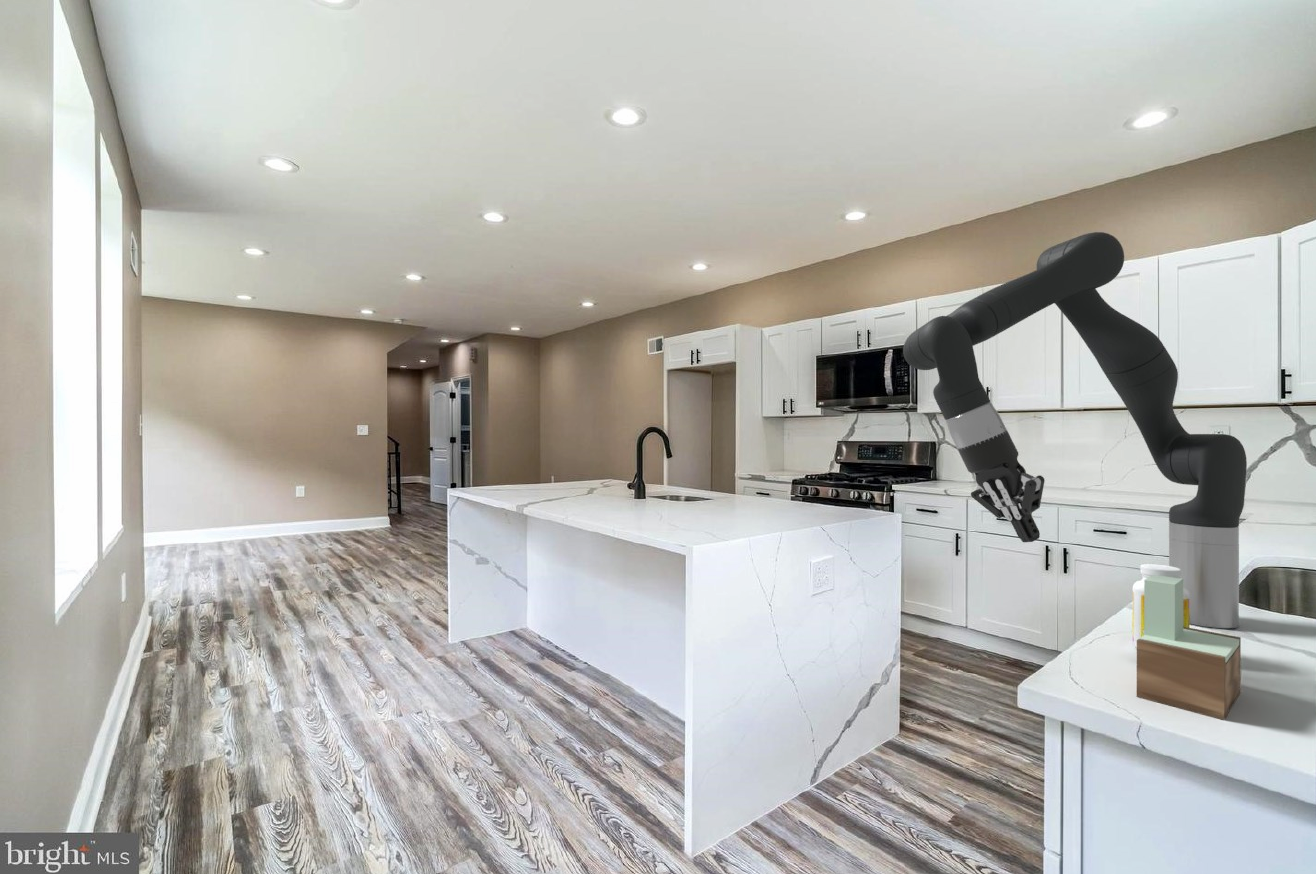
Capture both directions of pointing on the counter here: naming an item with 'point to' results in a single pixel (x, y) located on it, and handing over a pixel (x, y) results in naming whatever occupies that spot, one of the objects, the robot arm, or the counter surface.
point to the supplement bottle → (1138, 597)
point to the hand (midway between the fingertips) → (1031, 540)
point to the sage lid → (1177, 620)
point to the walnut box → (1188, 677)
